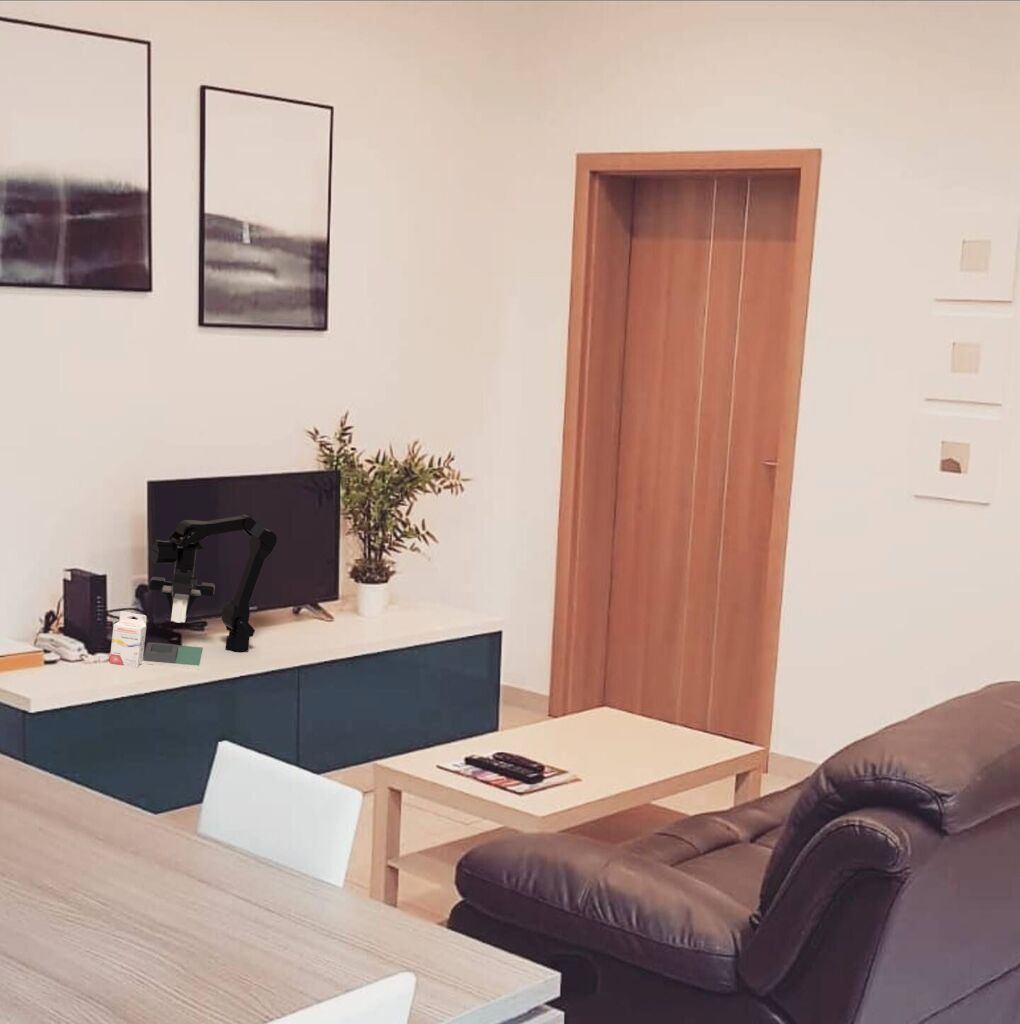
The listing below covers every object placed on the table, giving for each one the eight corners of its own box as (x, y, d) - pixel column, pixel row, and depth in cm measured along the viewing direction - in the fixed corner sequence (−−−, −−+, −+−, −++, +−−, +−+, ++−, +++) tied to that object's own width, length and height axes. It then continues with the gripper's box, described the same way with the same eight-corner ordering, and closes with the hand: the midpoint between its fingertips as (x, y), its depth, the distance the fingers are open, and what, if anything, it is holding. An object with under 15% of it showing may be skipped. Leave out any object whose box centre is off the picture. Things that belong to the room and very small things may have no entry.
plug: (186, 617, 460) (188, 595, 458) (184, 623, 453) (187, 600, 452) (172, 616, 459) (175, 593, 458) (170, 621, 452) (173, 598, 451)
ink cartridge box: (108, 663, 442) (113, 614, 440) (114, 659, 447) (119, 610, 445) (137, 668, 441) (142, 618, 439) (143, 663, 446) (147, 614, 444)
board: (202, 650, 468) (203, 639, 467) (198, 668, 449) (200, 657, 448) (149, 646, 465) (150, 634, 465) (143, 664, 446) (144, 652, 445)
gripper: (150, 565, 444) (144, 617, 447) (215, 572, 447) (209, 624, 450) (154, 557, 455) (148, 608, 458) (217, 565, 458) (211, 615, 460)
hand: (179, 614), depth 456 cm, fingers closed on plug, 4 cm apart
